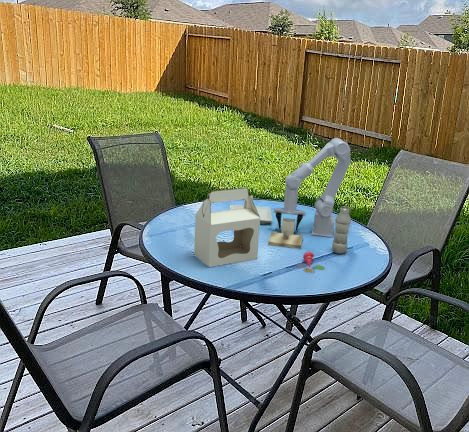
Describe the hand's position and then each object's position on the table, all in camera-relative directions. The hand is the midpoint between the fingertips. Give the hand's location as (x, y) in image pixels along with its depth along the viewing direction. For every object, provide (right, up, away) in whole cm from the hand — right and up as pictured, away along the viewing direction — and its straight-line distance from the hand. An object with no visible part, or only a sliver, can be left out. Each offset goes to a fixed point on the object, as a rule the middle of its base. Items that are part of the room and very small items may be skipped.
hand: (288, 229), depth 223 cm
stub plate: (-2, -5, -11) cm, 12 cm away
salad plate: (-17, +5, +18) cm, 25 cm away
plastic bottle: (+19, -10, -19) cm, 29 cm away
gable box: (-28, -11, -30) cm, 42 cm away
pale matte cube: (0, -2, +1) cm, 2 cm away
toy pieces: (+4, -14, -34) cm, 37 cm away
